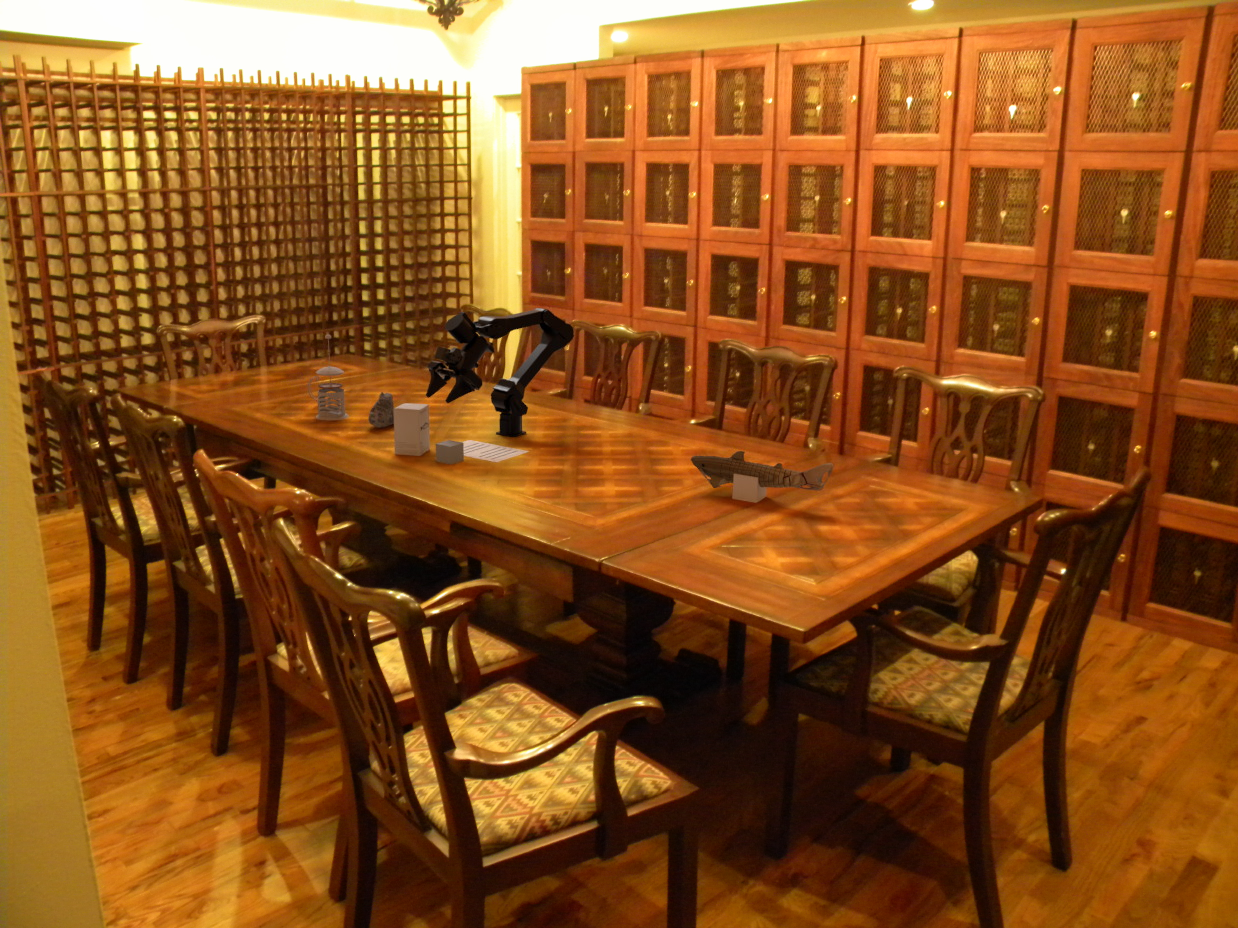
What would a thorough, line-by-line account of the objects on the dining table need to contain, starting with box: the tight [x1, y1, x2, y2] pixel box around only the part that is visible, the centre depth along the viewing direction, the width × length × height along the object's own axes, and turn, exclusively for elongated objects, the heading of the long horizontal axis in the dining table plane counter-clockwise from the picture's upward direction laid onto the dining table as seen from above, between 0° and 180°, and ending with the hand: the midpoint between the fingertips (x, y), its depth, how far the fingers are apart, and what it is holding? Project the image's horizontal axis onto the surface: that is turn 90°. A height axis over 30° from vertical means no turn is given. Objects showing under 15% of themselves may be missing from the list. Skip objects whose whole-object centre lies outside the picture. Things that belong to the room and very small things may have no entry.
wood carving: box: [690, 450, 834, 503], centre depth 248 cm, size 9×35×11 cm, turn 61°
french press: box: [307, 334, 349, 421], centre depth 318 cm, size 10×12×25 cm
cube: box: [435, 439, 465, 465], centre depth 275 cm, size 5×5×5 cm
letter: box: [462, 439, 530, 463], centre depth 286 cm, size 14×21×1 cm, turn 57°
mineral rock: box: [368, 391, 395, 428], centre depth 311 cm, size 13×11×10 cm
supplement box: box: [393, 403, 431, 457], centre depth 282 cm, size 7×7×13 cm
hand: (436, 399), depth 285 cm, fingers open, 9 cm apart
